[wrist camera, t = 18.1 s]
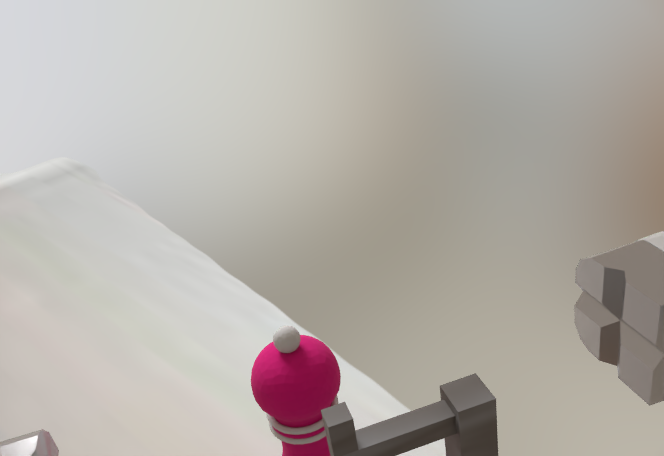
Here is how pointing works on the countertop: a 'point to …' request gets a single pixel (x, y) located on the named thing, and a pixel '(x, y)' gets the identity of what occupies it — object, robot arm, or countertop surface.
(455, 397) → the hanger stand
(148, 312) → the countertop surface
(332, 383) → the pepper mill
